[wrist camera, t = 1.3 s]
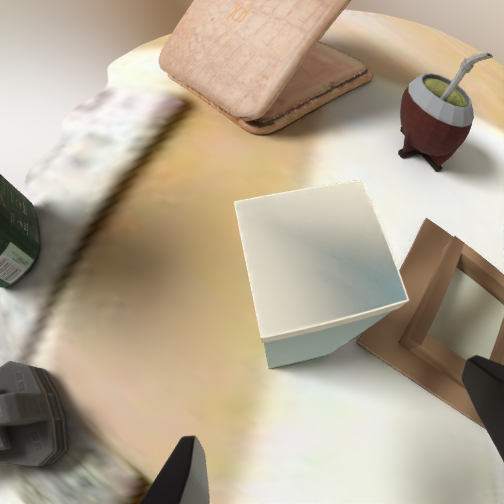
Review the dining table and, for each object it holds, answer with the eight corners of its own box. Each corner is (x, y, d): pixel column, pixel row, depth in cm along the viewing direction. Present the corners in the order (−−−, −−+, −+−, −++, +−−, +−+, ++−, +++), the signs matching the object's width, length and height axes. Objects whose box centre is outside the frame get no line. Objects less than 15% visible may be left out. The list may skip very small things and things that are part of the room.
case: (157, 77, 35) (127, -23, 21) (273, 29, 40) (270, -56, 25) (253, 151, 28) (237, -13, 13) (379, 81, 32) (402, -26, 18)
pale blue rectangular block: (328, 355, 19) (409, 300, 7) (268, 369, 19) (260, 338, 7) (314, 298, 21) (360, 179, 9) (256, 311, 21) (233, 201, 9)
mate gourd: (420, 121, 28) (459, 9, 15) (465, 172, 25) (528, 60, 12) (372, 134, 28) (405, 0, 14) (420, 192, 24) (490, 54, 11)
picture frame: (529, 305, 19) (546, 297, 16) (485, 429, 15) (504, 430, 13) (423, 221, 23) (435, 205, 21) (356, 342, 19) (367, 336, 17)
